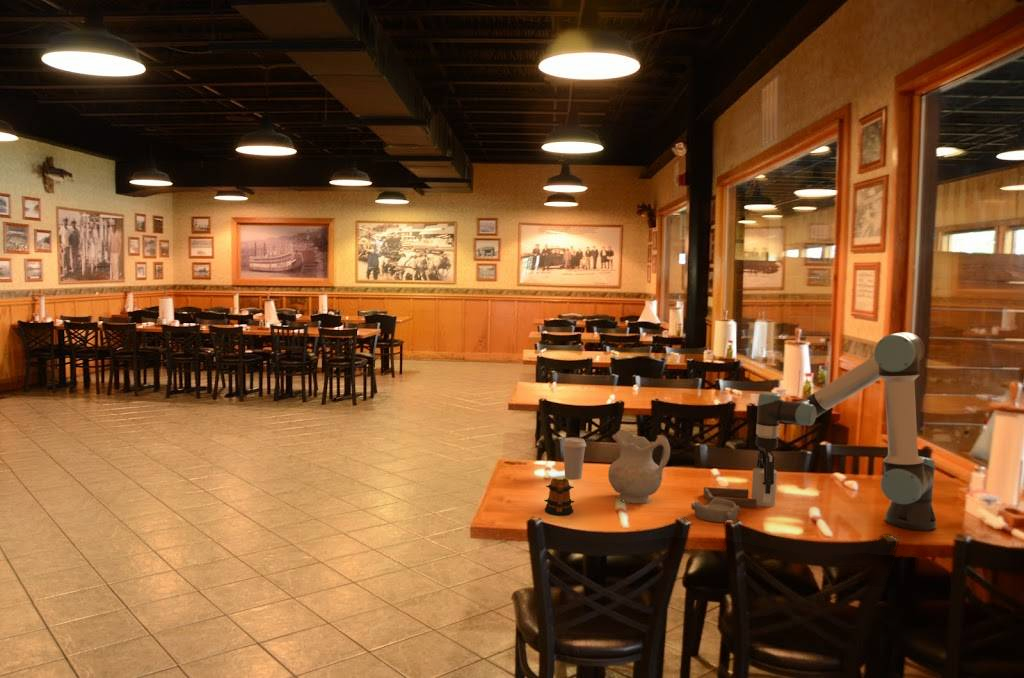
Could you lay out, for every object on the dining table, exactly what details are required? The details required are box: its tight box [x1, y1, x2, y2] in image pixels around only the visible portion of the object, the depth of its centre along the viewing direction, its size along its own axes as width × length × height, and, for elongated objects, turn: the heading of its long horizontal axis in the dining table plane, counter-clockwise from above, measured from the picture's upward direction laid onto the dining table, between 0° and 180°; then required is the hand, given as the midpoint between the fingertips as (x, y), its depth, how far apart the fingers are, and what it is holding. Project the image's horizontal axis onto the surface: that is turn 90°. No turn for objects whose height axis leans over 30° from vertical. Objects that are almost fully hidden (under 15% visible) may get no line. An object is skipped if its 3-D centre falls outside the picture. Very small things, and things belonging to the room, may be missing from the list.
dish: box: [690, 498, 741, 523], centre depth 262 cm, size 14×14×5 cm
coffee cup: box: [561, 437, 587, 480], centre depth 307 cm, size 10×10×15 cm
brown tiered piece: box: [544, 477, 575, 517], centre depth 261 cm, size 13×10×12 cm
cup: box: [750, 467, 778, 508], centre depth 279 cm, size 8×8×12 cm
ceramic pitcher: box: [608, 429, 671, 505], centre depth 279 cm, size 22×20×25 cm
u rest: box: [702, 486, 757, 509], centre depth 280 cm, size 13×16×3 cm
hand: (763, 498), depth 280 cm, fingers closed on cup, 8 cm apart
